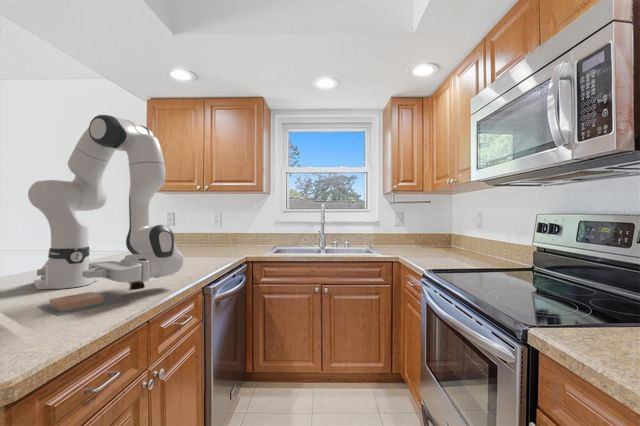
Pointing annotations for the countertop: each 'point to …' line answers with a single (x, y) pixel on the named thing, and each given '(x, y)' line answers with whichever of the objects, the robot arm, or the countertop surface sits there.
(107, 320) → the countertop surface
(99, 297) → the tile
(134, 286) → the hand tool
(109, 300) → the board
